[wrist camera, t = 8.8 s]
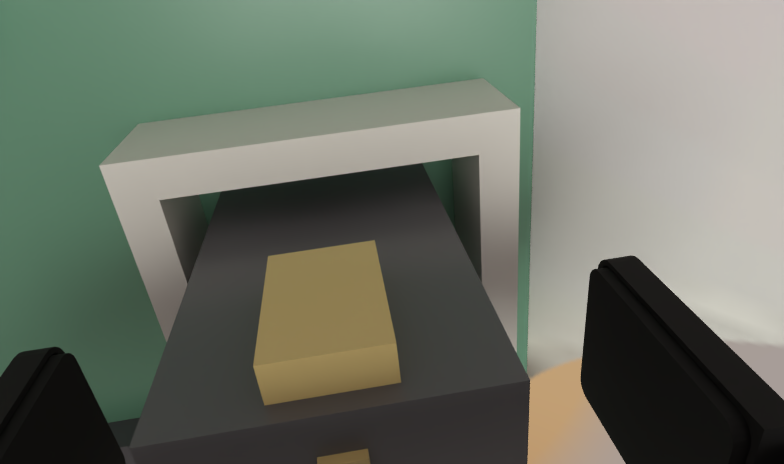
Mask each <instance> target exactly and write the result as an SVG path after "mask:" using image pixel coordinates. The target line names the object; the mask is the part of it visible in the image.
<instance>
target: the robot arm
mask: <svg viewBox="0 0 784 464" xmlns="http://www.w3.org/2000/svg"><path fill="white" fill-rule="evenodd" d="M581 385H582V389H583V392H584V394H585V396H586V398H587V400H588V401H589V403H590V405H591V406H592V408H593V410H594V411H595V413H596V415H597V416H598V418H599V420H600V421H601V423H602V425H603V426H604V428H605V430H606V431H607V433H608V435H609V436H610V438H611V440H612V441H613V443H614V445H615V446H616V448H617V450H618V451H619V453H620V455H621V456H622V458H623V460H624V461H625V463H626V464H784V400H783V399H782V398H781V397H780V396H779V395H778V394H777V393H776V392H775V391H774V390H773V389H772V388H771V387H770V386H769V385H768V384H766V383H765V381H763V380H762V379H761V378H760V377H759V376H758V375H757V374H756V373H755V372H754V371H753V370H752V369H751V368H750V367H749V366H748V365H747V364H746V363H745V362H744V361H743V360H742V359H741V358H740V357H739V356H738V355H737V354H735V352H734V351H733V350H731V348H730V347H729V346H728V345H726V344H725V343H724V342H723V341H722V340H721V339H720V338H719V337H718V336H717V335H716V334H715V333H714V332H713V331H712V330H711V329H710V328H709V327H708V326H707V325H706V324H705V323H704V322H703V321H702V320H701V319H700V318H699V317H698V316H697V315H696V314H695V313H694V312H693V311H692V310H691V309H689V308H688V307H687V306H686V305H685V304H684V303H683V302H682V301H681V300H680V299H679V298H678V297H677V296H676V295H675V294H674V293H673V292H672V291H671V290H670V289H669V288H668V287H667V286H666V285H665V284H664V283H663V282H662V281H661V280H660V279H659V278H658V277H657V276H656V275H655V274H653V273H652V272H651V271H650V270H649V269H648V268H647V267H646V266H645V265H644V264H643V263H642V262H641V261H640V260H639V259H638V258H636V257H635V256H626V257H619V258H613V259H607V260H603V261H601V262H600V264H599V266H598V269H594V270H592V271H591V273H590V280H589V291H588V302H587V313H586V324H585V335H584V346H583V356H582V368H581ZM0 464H126V463H125V458H124V455H123V453H122V451H121V449H120V447H119V445H118V443H117V441H116V438H115V436H114V434H113V432H112V430H111V428H110V426H109V424H108V422H107V420H106V418H105V416H104V414H103V412H102V410H101V408H100V406H99V404H98V402H97V400H96V398H95V396H94V394H93V392H92V390H91V388H90V386H89V384H88V382H87V380H86V378H85V376H84V374H83V372H82V370H81V368H80V366H79V364H78V362H77V360H76V358H75V357H74V355H72V354H71V353H65V352H64V351H63V350H62V349H61V348H59V347H48V348H42V349H36V350H29V351H23V352H20V353H18V354H17V355H16V356H15V357H14V358H13V360H12V361H11V362H10V364H9V365H8V367H7V368H6V369H5V371H4V372H3V374H2V375H1V377H0Z"/></svg>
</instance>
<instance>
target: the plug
mask: <svg viewBox="0 0 784 464" xmlns="http://www.w3.org/2000/svg"><path fill="white" fill-rule="evenodd" d="M529 390H530V379H529V377H528V375H527V373H526V371H525V369H524V367H523V365H522V363H521V361H520V359H519V357H518V355H517V353H516V351H515V349H514V347H513V345H512V343H511V341H510V339H509V337H508V335H507V333H506V331H505V329H504V327H503V325H502V323H501V321H500V319H499V317H498V315H497V313H496V311H495V309H494V307H493V305H492V303H491V301H490V299H489V297H488V295H487V293H486V291H485V289H484V287H483V285H482V283H481V281H480V279H479V277H478V275H477V273H476V271H475V269H474V267H473V265H472V263H471V261H470V259H469V257H468V255H467V253H466V251H465V249H464V247H463V245H462V243H461V241H460V239H459V237H458V235H457V233H456V231H455V229H454V227H453V224H452V222H451V220H450V218H449V216H448V214H447V212H446V210H445V208H444V206H443V204H442V202H441V200H440V198H439V196H438V194H437V192H436V190H435V188H434V186H433V184H432V182H431V180H430V178H429V176H428V174H427V172H426V170H425V168H424V166H423V164H422V163H418V164H411V165H404V166H397V167H390V168H383V169H376V170H369V171H362V172H354V173H347V174H340V175H333V176H326V177H319V178H312V179H305V180H298V181H291V182H284V183H277V184H270V185H263V186H256V187H249V188H242V189H235V190H228V191H221V193H220V196H219V199H218V201H217V204H216V207H215V210H214V212H213V215H212V218H211V221H210V224H209V226H208V229H207V232H206V235H205V238H204V240H203V243H202V246H201V249H200V251H199V254H198V257H197V260H196V263H195V265H194V268H193V271H192V274H191V276H190V279H189V282H188V285H187V288H186V290H185V293H184V296H183V299H182V302H181V304H180V307H179V310H178V313H177V315H176V318H175V321H174V324H173V327H172V329H171V332H170V335H169V338H168V341H167V343H166V346H165V349H164V352H163V354H162V357H161V360H160V363H159V366H158V368H157V371H156V374H155V377H154V379H153V382H152V385H151V388H150V391H149V393H148V396H147V399H146V402H145V405H144V407H143V410H142V413H141V416H140V418H139V421H138V424H137V427H136V430H135V432H134V435H133V438H132V441H131V443H130V446H129V450H130V452H131V454H132V457H133V459H134V461H135V463H136V464H527V455H528V425H529V424H528V423H529V394H530V391H529Z"/></svg>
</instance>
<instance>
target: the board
mask: <svg viewBox="0 0 784 464" xmlns="http://www.w3.org/2000/svg"><path fill="white" fill-rule="evenodd" d="M536 12H537V0H0V377H1V375H2V374H3V372H4V371H5V369H6V368H7V367H8V365H9V364H10V362H11V361H12V360H13V358H14V357H15V356H16V355H17V354H18V353H20V352H23V351H29V350H36V349H42V348H48V347H59V348H61V349H62V350H63V351H64V352H65V353H71V354H72V355H74V357H75V358H76V360H77V362H78V364H79V366H80V368H81V370H82V372H83V374H84V376H85V378H86V380H87V382H88V384H89V386H90V388H91V390H92V392H93V394H94V396H95V398H96V400H97V402H98V404H99V406H100V408H101V410H102V412H103V414H104V416H105V418H106V420H107V422H108V424H109V426H110V428H111V430H112V432H113V434H114V436H115V438H116V441H117V443H118V445H119V447H120V449H121V451H122V453H123V455H124V458H125V463H126V464H136V463H135V461H134V459H133V457H132V454H131V452H130V450H129V446H130V443H131V441H132V438H133V435H134V432H135V430H136V427H137V424H138V421H139V418H140V416H141V413H142V410H143V407H144V405H145V402H146V399H147V396H148V393H149V391H150V388H151V385H152V382H153V379H154V377H155V374H156V371H157V368H158V366H159V363H160V360H161V357H162V354H163V352H164V349H165V346H166V343H167V341H168V338H169V335H170V332H171V329H172V327H173V324H174V321H175V318H176V315H177V313H178V310H179V307H180V304H181V302H182V299H183V296H184V293H185V290H186V288H187V285H188V282H189V279H190V276H191V274H192V271H193V268H194V265H195V263H196V260H197V257H198V254H199V251H200V249H201V246H202V243H203V240H204V238H205V235H206V232H207V229H208V226H209V224H210V221H211V218H212V215H213V212H214V210H215V207H216V204H217V201H218V199H219V196H220V193H221V191H228V190H235V189H242V188H249V187H256V186H263V185H270V184H277V183H284V182H291V181H298V180H305V179H312V178H319V177H326V176H333V175H340V174H347V173H354V172H362V171H369V170H376V169H383V168H390V167H397V166H404V165H411V164H418V163H422V164H423V166H424V168H425V170H426V172H427V174H428V176H429V178H430V180H431V182H432V184H433V186H434V188H435V190H436V192H437V194H438V196H439V198H440V200H441V202H442V204H443V206H444V208H445V210H446V212H447V214H448V216H449V218H450V220H451V222H452V224H453V227H454V229H455V231H456V233H457V235H458V237H459V239H460V241H461V243H462V245H463V247H464V249H465V251H466V253H467V255H468V257H469V259H470V261H471V263H472V265H473V267H474V269H475V271H476V273H477V275H478V277H479V279H480V281H481V283H482V285H483V287H484V289H485V291H486V293H487V295H488V297H489V299H490V301H491V303H492V305H493V307H494V309H495V311H496V313H497V315H498V317H499V319H500V321H501V323H502V325H503V327H504V329H505V331H506V333H507V335H508V337H509V339H510V341H511V343H512V345H513V347H514V349H515V351H516V353H517V355H518V357H519V359H520V361H521V363H522V365H523V367H524V369H525V371H526V373H527V340H528V304H529V267H530V231H531V194H532V158H533V121H534V85H535V48H536Z"/></svg>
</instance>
